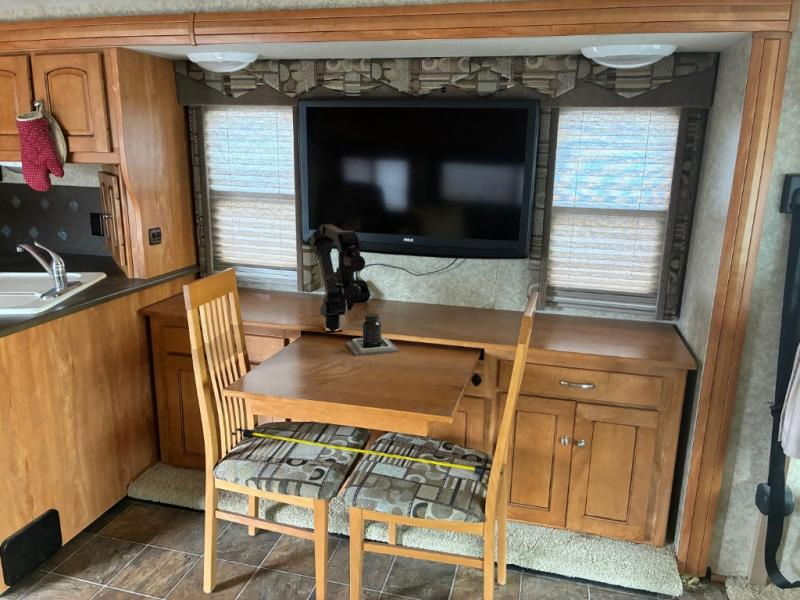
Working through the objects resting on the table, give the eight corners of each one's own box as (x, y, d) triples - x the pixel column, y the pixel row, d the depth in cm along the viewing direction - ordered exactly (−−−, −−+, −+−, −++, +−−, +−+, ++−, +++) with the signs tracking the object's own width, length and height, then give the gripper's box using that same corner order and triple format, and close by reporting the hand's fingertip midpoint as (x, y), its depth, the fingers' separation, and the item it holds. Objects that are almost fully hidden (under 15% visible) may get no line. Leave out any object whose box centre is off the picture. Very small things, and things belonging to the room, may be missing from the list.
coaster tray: (346, 344, 224) (346, 339, 224) (387, 340, 229) (387, 335, 229) (355, 355, 213) (355, 350, 213) (398, 351, 219) (398, 346, 218)
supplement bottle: (360, 343, 223) (360, 312, 220) (378, 341, 225) (378, 310, 222) (365, 350, 217) (365, 318, 213) (384, 348, 219) (384, 316, 216)
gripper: (319, 261, 227) (319, 301, 231) (330, 272, 210) (330, 315, 214) (348, 260, 231) (347, 299, 235) (361, 270, 214) (360, 313, 218)
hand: (346, 306), depth 225 cm, fingers open, 9 cm apart
